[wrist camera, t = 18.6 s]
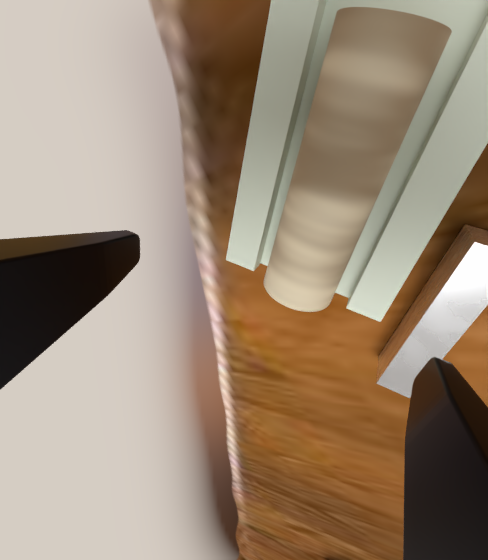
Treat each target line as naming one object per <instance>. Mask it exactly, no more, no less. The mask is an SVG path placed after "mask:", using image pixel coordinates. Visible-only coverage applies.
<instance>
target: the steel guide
mask: <svg viewBox="0 0 488 560" xmlns="http://www.w3.org/2000/svg"><path fill="white" fill-rule="evenodd" d="M487 305H488V231H487V230H484V229H480V228H477V227H474V226H470V225H467V224H464V226H463V227H462V229H461V231H460V232H459V234H458V235H457V237H456V238H455V240H454V241H453V243H452V244H451V246H450V247H449V249H448V251H447V252H446V254H445V255H444V257H443V258H442V260H441V261H440V263H439V264H438V266H437V267H436V269H435V270H434V272H433V274H432V275H431V277H430V278H429V280H428V281H427V283H426V284H425V286H424V287H423V289H422V290H421V292H420V294H419V295H418V297H417V298H416V300H415V301H414V303H413V304H412V306H411V307H410V309H409V310H408V312H407V313H406V315H405V317H404V318H403V320H402V321H401V323H400V324H399V326H398V327H397V329H396V330H395V332H394V333H393V335H392V337H391V338H390V340H389V341H388V343H387V344H386V346H385V347H384V349H383V350H382V352H381V353H380V355H379V356H378V369H377V382H376V383H377V384H379V385H381V386H384V387H386V388H388V389H390V390H393V391H395V392H397V393H399V394H401V395H404V396H406V397H408V398H410V397H411V393H412V386H413V382H414V379H415V377H416V376H417V375H418V373H419V372H420V371H421V370H422V368H423V367H424V366H425V365H426V363H427V362H428V361H429V360H430V359H431V358H432V357H438V358H440V359H443V358H444V356H445V355H446V354H447V353H448V352H449V350H450V349H451V348H452V347H453V346H454V344H455V343H456V342H457V341H458V340H459V338H460V337H461V336H462V335H463V334H464V332H465V331H466V330H467V329H468V328H469V326H470V325H471V324H472V323H473V322H474V320H475V319H476V318H477V317H478V316H479V314H480V313H481V312H482V311H483V310H484V309H485V307H486V306H487Z"/></svg>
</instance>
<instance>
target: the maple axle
mask: <svg viewBox="0 0 488 560" xmlns="http://www.w3.org/2000/svg"><path fill="white" fill-rule="evenodd" d="M451 33H452V31H451V29H450V28H449V27H447V26H446V25H444V24H442V23H440V22H437V21H435V20H432V19H429V18H426V17H422V16H418V15H415V14H410V13H406V12H401V11H395V10H389V9H381V8H371V7H347V8H342V9H339V10H338V11H337V13H336V16H335V20H334V24H333V28H332V31H331V35H330V39H329V42H328V46H327V50H326V53H325V57H324V61H323V64H322V68H321V72H320V75H319V79H318V83H317V86H316V90H315V94H314V98H313V101H312V105H311V109H310V112H309V116H308V120H307V123H306V127H305V131H304V134H303V138H302V142H301V145H300V149H299V153H298V156H297V160H296V164H295V168H294V171H293V175H292V179H291V182H290V186H289V190H288V193H287V197H286V201H285V204H284V208H283V212H282V215H281V219H280V223H279V226H278V230H277V234H276V238H275V241H274V245H273V249H272V252H271V256H270V260H269V263H268V267H267V271H266V274H265V278H264V287H265V289H266V291H267V292H268V294H269V295H270V296H271V297H272V298H273V299H274V300H276V301H277V302H279V303H280V304H282V305H284V306H286V307H289V308H291V309H295V310H299V311H305V312H315V311H320V310H323V309H325V308H326V307H328V306H329V304H330V302H331V300H332V298H333V296H334V293H335V291H336V289H337V287H338V285H339V282H340V280H341V278H342V276H343V273H344V271H345V269H346V267H347V265H348V262H349V260H350V258H351V256H352V253H353V251H354V249H355V247H356V244H357V242H358V240H359V238H360V236H361V233H362V231H363V229H364V227H365V224H366V222H367V220H368V218H369V215H370V213H371V211H372V209H373V207H374V204H375V202H376V200H377V198H378V195H379V193H380V191H381V189H382V187H383V184H384V182H385V180H386V178H387V175H388V173H389V171H390V169H391V166H392V164H393V162H394V160H395V158H396V155H397V153H398V151H399V149H400V146H401V144H402V142H403V140H404V137H405V135H406V133H407V131H408V129H409V126H410V124H411V122H412V120H413V117H414V115H415V113H416V111H417V108H418V106H419V104H420V102H421V100H422V97H423V95H424V93H425V91H426V88H427V86H428V84H429V82H430V80H431V77H432V75H433V73H434V71H435V68H436V66H437V64H438V62H439V59H440V57H441V55H442V53H443V51H444V48H445V46H446V44H447V42H448V39H449V37H450V35H451Z"/></svg>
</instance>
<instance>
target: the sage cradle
mask: <svg viewBox="0 0 488 560" xmlns="http://www.w3.org/2000/svg"><path fill="white" fill-rule="evenodd" d="M347 7H371V8H381V9H389V10H395V11H401V12H406V13H410V14H415V15H418V16H422V17H426V18H429V19H432V20H435V21H437V22H440V23H442V24H444V25H446V26H447V27H449V28H450V29H451V31H452V33H451V35H450V37H449V39H448V42H447V44H446V46H445V48H444V51H443V53H442V55H441V57H440V59H439V62H438V64H437V66H436V68H435V71H434V73H433V75H432V77H431V80H430V82H429V84H428V86H427V88H426V91H425V93H424V95H423V97H422V100H421V102H420V104H419V106H418V108H417V111H416V113H415V115H414V117H413V120H412V122H411V124H410V126H409V129H408V131H407V133H406V135H405V137H404V140H403V142H402V144H401V146H400V149H399V151H398V153H397V155H396V158H395V160H394V162H393V164H392V166H391V169H390V171H389V173H388V175H387V178H386V180H385V182H384V184H383V187H382V189H381V191H380V193H379V195H378V198H377V200H376V202H375V204H374V207H373V209H372V211H371V213H370V215H369V218H368V220H367V222H366V224H365V227H364V229H363V231H362V233H361V236H360V238H359V240H358V242H357V244H356V247H355V249H354V251H353V253H352V256H351V258H350V260H349V262H348V265H347V267H346V269H345V271H344V273H343V276H342V278H341V280H340V282H339V285H338V287H337V289H336V291H335V293H338V294H340V295H343V296H346V297H348V298H349V299H348V303H347V307H346V308H347V309H349V310H352V311H354V312H357V313H359V314H362V315H364V316H367V317H369V318H372V319H374V320H377V321H379V322H381V320H382V319H383V317H384V315H385V314H386V312H387V310H388V309H389V307H390V305H391V304H392V302H393V300H394V299H395V297H396V295H397V294H398V292H399V290H400V289H401V287H402V285H403V284H404V282H405V280H406V279H407V277H408V275H409V274H410V272H411V270H412V269H413V267H414V265H415V264H416V262H417V260H418V259H419V257H420V255H421V254H422V252H423V250H424V248H425V247H426V245H427V243H428V242H429V240H430V238H431V237H432V235H433V233H434V232H435V230H436V228H437V227H438V225H439V223H440V222H441V220H442V218H443V217H444V215H445V213H446V212H447V210H448V208H449V207H450V205H451V203H452V202H453V200H454V198H455V197H456V195H457V193H458V192H459V190H460V188H461V187H462V185H463V183H464V182H465V180H466V178H467V177H468V175H469V173H470V172H471V170H472V168H473V167H474V165H475V163H476V162H477V160H478V158H479V157H480V155H481V153H482V152H483V150H484V148H485V147H486V145H487V143H488V0H271V5H270V10H269V16H268V22H267V27H266V33H265V39H264V45H263V50H262V56H261V62H260V67H259V73H258V79H257V85H256V90H255V96H254V102H253V108H252V113H251V119H250V125H249V130H248V136H247V142H246V148H245V153H244V159H243V165H242V170H241V176H240V182H239V188H238V193H237V199H236V205H235V210H234V216H233V222H232V228H231V233H230V239H229V245H228V251H227V256H226V260H227V261H230V262H232V263H235V264H237V265H240V266H242V267H245V268H247V269H250V270H252V271H254V270H255V269H256V268H257V267H258V266H259V264H260V263H261V264H264V265H266V266H268V263H269V260H270V256H271V252H272V249H273V245H274V241H275V238H276V234H277V230H278V226H279V223H280V219H281V215H282V212H283V208H284V204H285V201H286V197H287V193H288V190H289V186H290V182H291V179H292V175H293V171H294V168H295V164H296V160H297V156H298V153H299V149H300V145H301V142H302V138H303V134H304V131H305V127H306V123H307V120H308V116H309V112H310V109H311V105H312V101H313V98H314V94H315V90H316V86H317V83H318V79H319V75H320V72H321V68H322V64H323V61H324V57H325V53H326V50H327V46H328V42H329V39H330V35H331V31H332V28H333V24H334V20H335V16H336V13H337V11H338V10H339V9H342V8H347Z"/></svg>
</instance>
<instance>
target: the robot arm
mask: <svg viewBox="0 0 488 560" xmlns="http://www.w3.org/2000/svg"><path fill="white" fill-rule="evenodd" d="M139 259H140V238H139V236H138V235H137V234H135V233H133V232H130V231H127V230H124V231H111V232H96V233H82V234H68V235H55V236H42V237H27V238H14V239H0V389H1V388H3V387H4V386H5V385H6V384H7V383H8V382H9V381H11V380H12V379H13V378H14V377H15V376H16V375H18V374H19V373H20V372H21V371H22V370H23V369H24V368H25V367H27V366H28V365H29V364H30V363H31V362H32V361H34V360H35V359H36V358H37V357H38V356H39V355H40V354H41V353H43V352H44V351H45V350H46V349H47V348H48V347H50V346H51V345H52V344H53V343H54V342H55V341H56V340H58V339H59V338H60V337H61V336H62V335H63V334H64V333H66V332H67V331H68V330H69V329H70V328H71V327H72V326H74V324H76V323H77V322H78V321H79V320H80V319H82V317H84V316H85V315H86V314H87V313H88V312H89V311H91V310H92V309H93V308H94V307H95V306H96V305H97V304H99V303H100V302H101V301H102V300H103V299H104V298H105V297H106V296H108V294H109V293H111V291H112V290H113V289H114V288H115V287H116V286H117V285H118V284H119V283H120V282H121V281H122V280H123V279H124V278H125V277H126V275H127V274H128V273H129V272H130V271H131V270H132V269H133V268H134V267H135V266H136V264H137V263H138V262H139ZM403 560H488V407H487V406H486V405H485V403H484V402H483V401H482V400H481V398H480V397H479V396H478V395H477V394H476V392H475V391H474V390H473V389H472V387H471V386H470V385H469V384H468V383H467V381H466V380H465V379H464V378H463V376H462V375H461V374H460V373H459V372H458V370H457V369H456V368H455V367H454V365H453V364H451V363H450V362H447V361H445V360H442V359H440V358H438V357H432V358H431V359H430V360H429V361H428V362H427V363H426V365H425V366H424V367H423V368H422V370H421V371H420V372H419V373H418V375H417V376H416V377H415V379H414V382H413V386H412V393H411V400H410V407H409V413H408V420H407V427H406V436H405V474H404V553H403Z"/></svg>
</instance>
